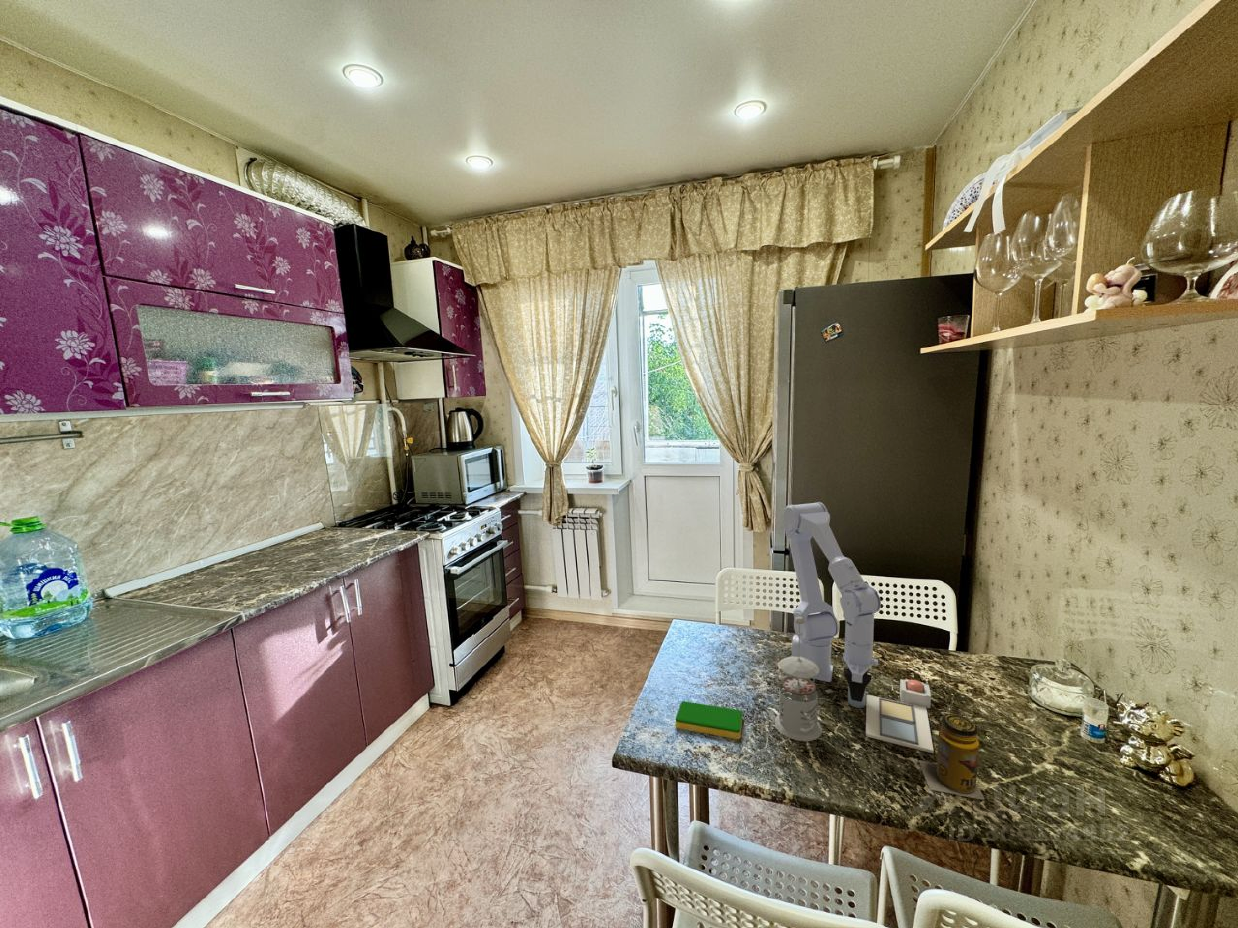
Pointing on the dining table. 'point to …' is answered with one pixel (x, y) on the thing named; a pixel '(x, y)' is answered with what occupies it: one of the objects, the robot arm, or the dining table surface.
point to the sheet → (898, 723)
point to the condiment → (955, 759)
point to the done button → (915, 686)
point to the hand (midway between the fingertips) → (856, 694)
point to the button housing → (915, 695)
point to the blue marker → (856, 703)
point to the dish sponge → (709, 719)
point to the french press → (798, 698)
